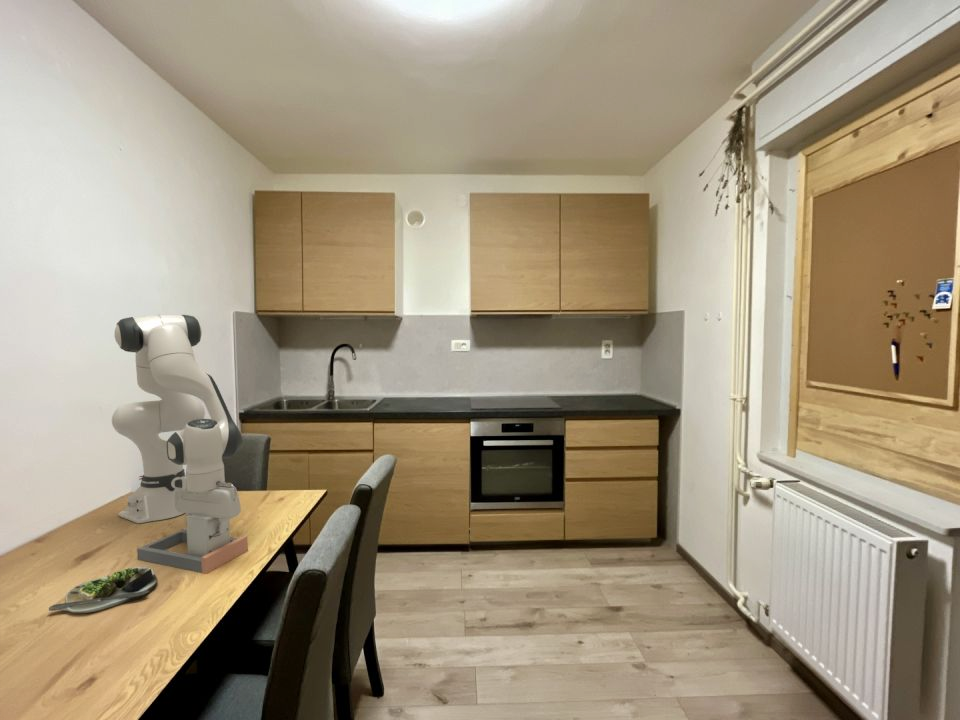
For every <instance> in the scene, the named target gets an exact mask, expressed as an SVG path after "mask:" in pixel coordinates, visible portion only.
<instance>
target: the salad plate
mask: <svg viewBox="0 0 960 720" xmlns="http://www.w3.org/2000/svg"><path fill="white" fill-rule="evenodd" d="M157 584H158V578H157V575H156V573H155V572H154V569H152V568H151V567H150V566H149V567H148V566H134V567H130V568H129V567H128V568H125V569H121V570H120V571H115V572H114V573H111V574H109V575H106V576H105V575H104V576H101V577H98V578H95V579H91V580H88V581H85V582H82V583H81V584H78V585H76V586H75V587H73V588H71V589H70V590H69V591H68V592H67V593H66V594H65V602H63V603H58V604H57V603H56V604H53V605H51V606H49V607H48V611H52V612H53V611H66V612H70V613H79V614H80V613H81V614H83V613H84V614H87V613H96V612H99V611H103V610H106V609H109V608H112V607H115V606H119V605H121V604H125V603H129V602H132V601H134V600H136V599H140V598H142V597H145V595H147V594H150V592H152V591H153V590H154V589H155V588H156V586H157Z"/></svg>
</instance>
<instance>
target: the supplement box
mask: <svg viewBox="0 0 960 720" xmlns="http://www.w3.org/2000/svg"><path fill="white" fill-rule="evenodd" d="M185 521H186V530H187V543H186V545H187V555H191V556H196V557H203V556H205V555H207V554H209V553H211V552H213V551H215V550H217V549H219V548H221V547H222V546H224V545H226V544H228V543H230V537H231V532H230V531H231V530H230V529H231V528H230V520H229V521H228V523H227V525H226V528H227V531H226V532H225V533H223V534H220V533H217V527H218V526H219V525H220V523H221V522H219V518H215V517H211V516H205V515H198V514H192V515H189V516H187V515H186V517H185Z"/></svg>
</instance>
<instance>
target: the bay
mask: <svg viewBox="0 0 960 720" xmlns="http://www.w3.org/2000/svg"><path fill="white" fill-rule="evenodd" d="M248 541H249V539H248V536H247V535H242V536H240V537H238V538H237V537H231V536H230V543H228V544H226V545H224V546H222V547H221V548H219V549H217V550H215V551H213V552H211V553H209V554H207V555H205V556H203V557H196V556H191V555H188V554H186V553H185V554H184V553H180V552H175V551H168V549H170V548H171V547H172V548H173V547H174V546H176V545H178V544H180V543H186V544H187V529H183V528H182V529H179V530H178V531H175V532H173V533H171V534H168V535H167V536H164V537H162V538H159V539H157V540H154V541H153V542H149V543H148V544H145V545H143V546H141V547H138V548H137V549H136V550H137V560H138V561H142V562H147V563H148V562H149V563H151V564H158V565H162V566H168V567H173V568H175V569H176V568H177V569H182V570H187V571H192V572H196V573H202V574H206V575H207V574H208V573H210V572H212V571H213V570H214V571H215V570H216V569H217V567H218V568H219V567H221V566H223V565H225V564H226V562H227V563H228V562H229V561H232V560H234V559H235V558H237V557H239V556H241V555H243V554H244V553H247V552H248V551H249V544H248ZM215 568H216V569H215Z"/></svg>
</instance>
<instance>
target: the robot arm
mask: <svg viewBox="0 0 960 720" xmlns="http://www.w3.org/2000/svg"><path fill="white" fill-rule="evenodd" d="M202 333H203V331H202V327H201V324H200V321H199V320H198V318H197V317H196V316H193V315H189V314H188V315H187V314H181V315H178V314H176V315H175V314H157V315H147V316H146V315H145V316H139V317H133V316H131V317H125V318H122V319H120V320H119V321H118V322H116V326H115V329H114V339H115V342H116V344H117V345H118V346H119V349H121V350H123V351H125V352H127V353H135V368H136V369H135V370H136V371H135V372H136V381H137V386H138V388H140V389H141V390H143V391H144V392H145V393H148V394H150V395H154V396H157V397H158V398H160V399H159V400H149V401H136V402H132V403H127V404H124V405H119V406H118V407H117V408H116V409H115V410H114V411H113V413H112V416H111V425H112V427H113V429H114V430H115V431H116V432H117V433H118V434H119V435H122V436H123V437H125V438H127V439H129V440H130V441H131V442H133V444H135V445H136V447H137V449H138V451H139V452H140V456H141V462H142V468H143V475H140V476H138V481H140V484H139V485H140V486H139V487H137V488H136V489H135V491H134V492H132V493H131V494H130V495H129V496H128V497H127V500H126V508H125V509H123V510H121V511H119V513H118V516H119V517H121V518H122V519H126V520H129V522H130V521H131V522H133V523H136V524H143V523H148V522H154V521H162V520H167V519H172V518H174V517H178V516H180V515H183V514H186V517H187V516H189V515H192V514H198V515H205V516H211V517H215V518H219V522H221V523H220V525H219V526H218V527H217V533H220V534H223V533H225V532H226V531H227V528H226V525H227V523H228V521H229V522H230V520H231V519H234V518H236V517H238V516H239V515H240V514H241V512H242V511H241V508H242V507H241V502H240V496H239V492H238V490H237V487H235V486H234V484H233V483H232V482H226V479H225V465H224V461H223V459H227V458H229V459H230V458H233V457H234V456H235V455H236V454H237V453H238V451H239V450H240V448H241V447H242V445H243V436H242V433H241V430H240V428H239V427H238V426H237V425H236V423H235V421H234V420H233V418H232V415H231V413H230V411H229V409H228V407H227V405H226V403H225V400H224V398H223V395H222V394H221V391H220V389H219V387H218V385H217V383H216V381H215V380H214V378H213V376H211V375H210V374H208V373H206V372H204V370H203V369H201V367H200V366H199V364H198V363H197V361H196V358H195V354H194V351H193V347H195V346H197V345H198V344H199V343H200V342H201V339H202V338H201V337H202ZM192 396H193V397H192ZM194 397H196V398H194ZM198 399H199V400H200V401H199V400H198ZM201 401H202V402H203V403H201ZM203 404H204V405H203ZM204 406H205V408H206V410H207V412H208V414H209V417H210V418H205V415H206V414H205V413H206V412H205V408H204ZM167 432H168V433H170V432H174V433H172V434H171V435H170V437H168V439H167V440H164V439H162V438H161V437H160V436H159V434H161V433H167ZM183 466H186V469H184V467H183Z"/></svg>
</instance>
